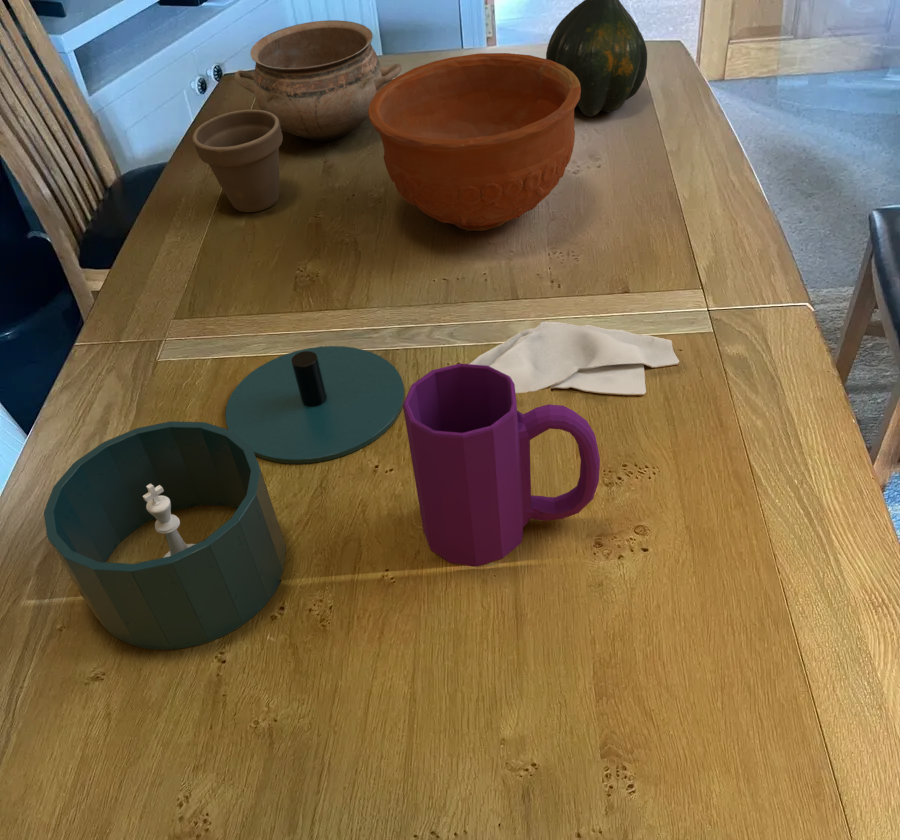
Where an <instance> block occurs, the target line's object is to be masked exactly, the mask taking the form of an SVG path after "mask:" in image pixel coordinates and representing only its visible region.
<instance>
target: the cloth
mask: <svg viewBox="0 0 900 840" xmlns="http://www.w3.org/2000/svg"><path fill="white" fill-rule="evenodd" d="M469 364H473V365H486V366H490V367H492V368H494V369H496V370H498V371H500V372H502V373H504V374H506V375H508V376H510V377H511V379H512V381H513V382H514V384H515V394H524V393H528V392H538V391H542V390H544V389H547V388H550V389H565V390H566V389H570V388H572V389H575V390H578V391H581V392H586V393H593V394H594V393H595V394H602V395H603V394H604V395H618V396H644V395H646V393H647V388H646V386H647V385H646V374H645V366H647V367H648V368H652V369H657V368H663V367H670V366H677V365H679V364H680V360H679V358H678V356H677V355H676V353H675V351H674V347H673V341H672V340H671V339H667V338H663V337H659V336H653V335H648V334H639V333H633V332H630V331H627V330H624V329H613V328H603V327H599V326H595V325H592V324H585V325H576V324H573V323H572V324H571V323H568V322H567V323H566V322H559V321H541V322H540V323H539V324H538V325H537V326H535V327H529V328H524V329H522V330H521V331H519V332H518V333H516V334H514V335H512V336H511V337H510V338H508V339H506V340H505V341H504V342H502V343H500V344H498V345H496V346H494V347H493V348H491V349H488V350H487V351H485V352H483V353H482V354H480V355H478V356H477V357H475V358H474V359H473V360H472V361H470V362H469Z"/></svg>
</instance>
